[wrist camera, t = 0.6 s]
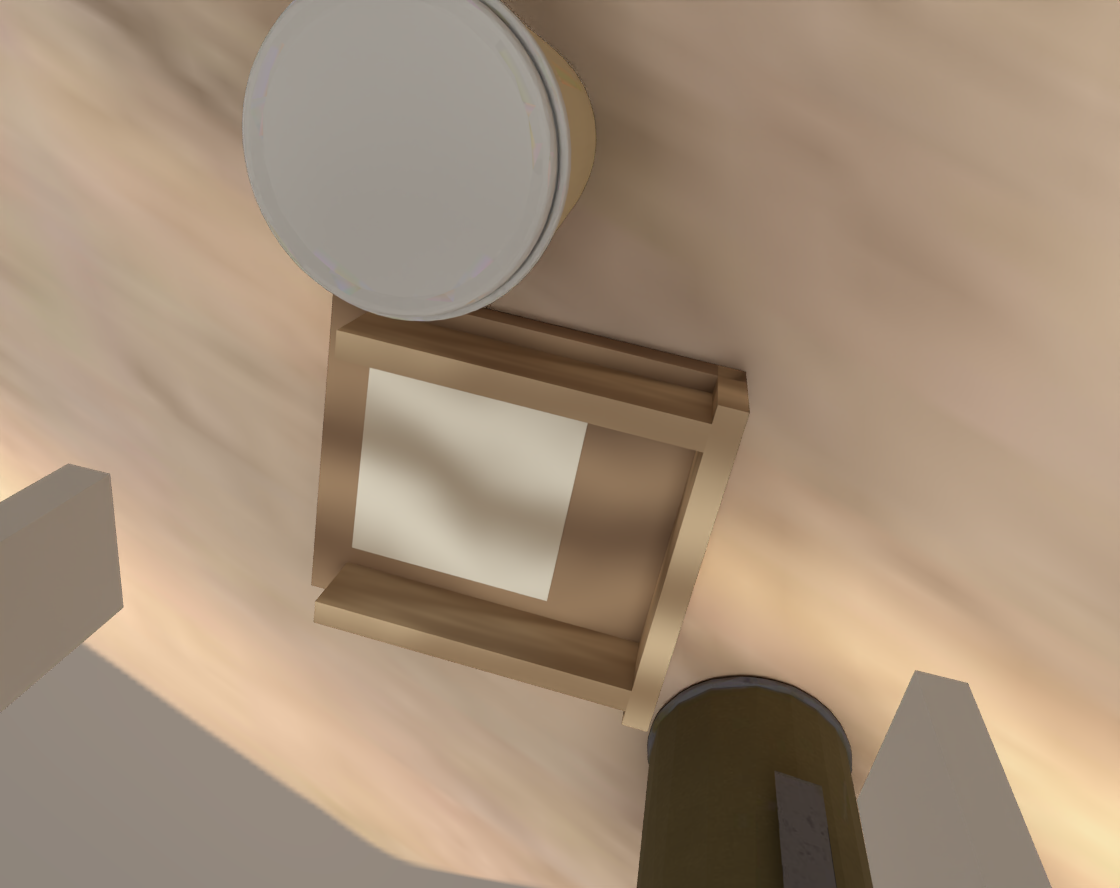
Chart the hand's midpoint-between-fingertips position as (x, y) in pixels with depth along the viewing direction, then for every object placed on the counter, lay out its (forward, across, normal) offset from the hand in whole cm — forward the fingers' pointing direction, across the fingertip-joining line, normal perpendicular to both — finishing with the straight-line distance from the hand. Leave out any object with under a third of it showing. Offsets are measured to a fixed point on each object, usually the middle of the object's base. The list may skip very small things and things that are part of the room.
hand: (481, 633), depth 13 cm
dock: (+23, -4, -10) cm, 25 cm away
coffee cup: (+23, -6, +5) cm, 25 cm away
